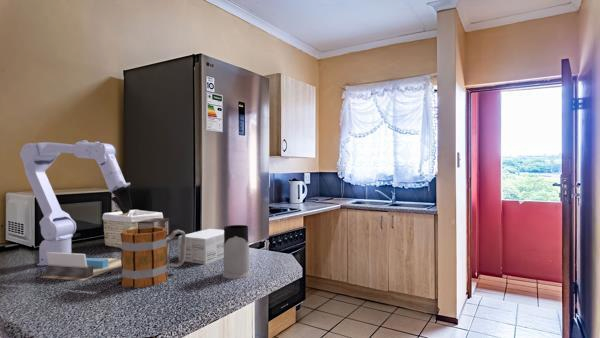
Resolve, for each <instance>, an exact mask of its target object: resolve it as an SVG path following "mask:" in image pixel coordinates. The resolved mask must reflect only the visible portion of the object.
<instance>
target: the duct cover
mask: <svg viewBox="0 0 600 338" xmlns="http://www.w3.org/2000/svg"><path fill="white" fill-rule="evenodd" d="M46 254H47V259H48V265H47V266H61V267H76V268H87V267H88V266H87V261H86V258H87V256H86V254H85V253H76V252H75V253H74V252H71V253H57V252H47V253H46Z"/></svg>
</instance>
